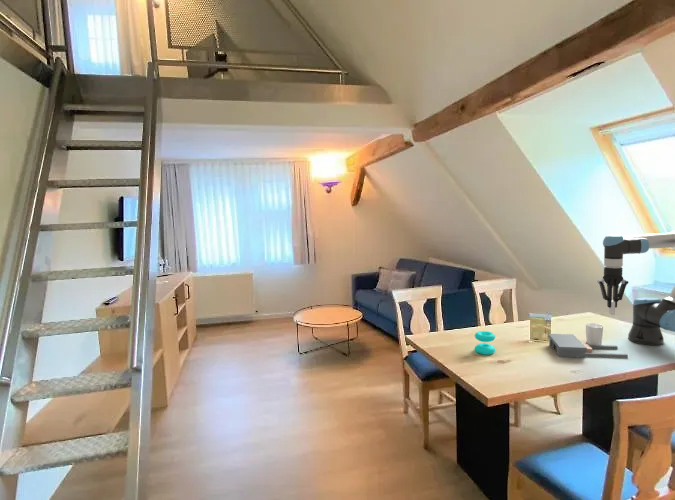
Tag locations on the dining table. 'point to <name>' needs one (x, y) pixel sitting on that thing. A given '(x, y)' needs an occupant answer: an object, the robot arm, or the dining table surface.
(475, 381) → the dining table surface
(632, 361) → the dining table surface
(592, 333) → the white cup
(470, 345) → the dining table surface
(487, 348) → the donuts
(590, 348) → the salmon pink tile
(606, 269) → the robot arm
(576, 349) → the overhang dock
